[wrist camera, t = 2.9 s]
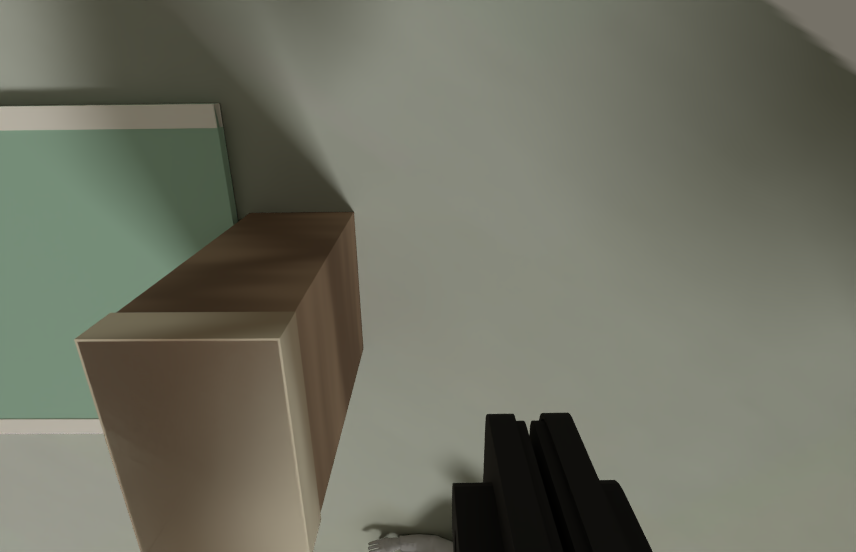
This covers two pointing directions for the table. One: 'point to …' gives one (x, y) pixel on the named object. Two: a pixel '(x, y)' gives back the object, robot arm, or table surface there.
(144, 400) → the walnut block
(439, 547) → the soldier figure
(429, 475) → the table surface
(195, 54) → the table surface
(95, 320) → the mat
